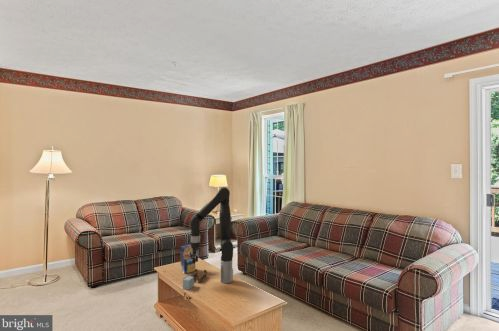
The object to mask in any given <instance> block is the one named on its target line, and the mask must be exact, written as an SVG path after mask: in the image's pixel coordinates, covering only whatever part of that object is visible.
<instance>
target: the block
mask: <svg viewBox="0 0 499 331" xmlns="http://www.w3.org/2000/svg"><path fill="white" fill-rule="evenodd" d="M186 276H187V275H186ZM186 276H185V277H186ZM185 277H184V278H185ZM194 285H195V279H194V277H192V276H187V277H186V278H185V279H182V290H187V291H188V290H191V288H193V287H194Z"/></svg>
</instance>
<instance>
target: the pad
mask: <svg viewBox="0 0 499 331" xmlns="http://www.w3.org/2000/svg"><path fill="white" fill-rule="evenodd" d="M191 275H192V274H187V275H186V276H184V278H183V279H185V278H186V277H187V276H191ZM198 278H199V275H197V276H196V277H195V278H194V280H196V279H198ZM183 279H182V280H183Z"/></svg>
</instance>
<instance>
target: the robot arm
mask: <svg viewBox="0 0 499 331" xmlns="http://www.w3.org/2000/svg"><path fill="white" fill-rule="evenodd" d="M230 195H231V194H230V190H229V188H227V186H226V187H220V189H219V190H218V192H217V193H216V195H215V196H214V197H213V198H212V199H211V200H210V201H209V202H207V203H206V204H205V205H204V206H203V207H201V209H200V210H199V211H197V213H196V214H195V215H194V216H192V218H191V219H190V245H191V248H192V252H190V254H191V259H193V260H192V263H193V264H195V265H196V263H198V262H199V257H200V252H201V248H200V247H201V230H200V223H201V222H202V221H203V220H204V219H205V218H207V217H208V215H210V213H212V212H213V210H215V208H216V207H217V206H219V215H218V216H219V217H218V218H219V229H220V248H221V257H220V283H221V284H231V283H233V281H234V268H233V257H234V244H233V242H232V241H231V227H232V216H231V208H230ZM194 254H195V255H194ZM194 256H195V257H194Z"/></svg>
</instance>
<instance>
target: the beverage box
mask: <svg viewBox="0 0 499 331" xmlns="http://www.w3.org/2000/svg"><path fill="white" fill-rule="evenodd" d="M190 252H192V248H191V244H187V245H182V246H180V272H181V273H183V274H188V273H192V272H193V273H194V272H195V269H196V263H195V264H193V263H192V260H193V259H191V254H190ZM194 255H195V254H194ZM194 257H195V256H194Z"/></svg>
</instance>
